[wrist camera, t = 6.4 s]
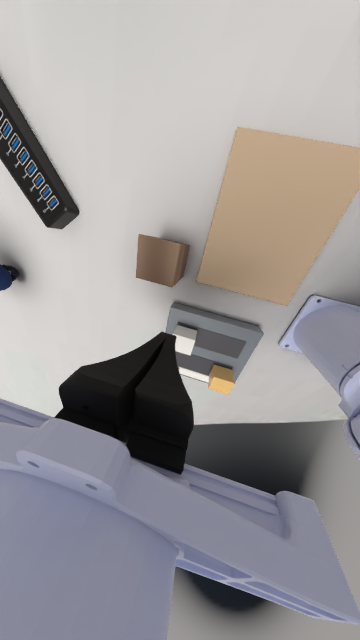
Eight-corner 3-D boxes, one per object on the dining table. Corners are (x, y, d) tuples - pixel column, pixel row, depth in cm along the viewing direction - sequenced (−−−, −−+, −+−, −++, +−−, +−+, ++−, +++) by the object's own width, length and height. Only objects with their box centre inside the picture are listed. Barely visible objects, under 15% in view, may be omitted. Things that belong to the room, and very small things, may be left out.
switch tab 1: (197, 330, 21) (195, 340, 18) (192, 344, 22) (190, 355, 20) (177, 324, 21) (172, 333, 19) (173, 339, 22) (169, 349, 20)
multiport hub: (63, 230, 21) (47, 228, 19) (-25, 96, 16) (-58, 75, 14) (82, 213, 20) (67, 209, 18) (-7, 60, 15) (-42, 30, 13)
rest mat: (374, 155, 12) (381, 151, 12) (285, 304, 19) (287, 305, 19) (236, 131, 13) (237, 126, 13) (196, 280, 20) (196, 281, 19)
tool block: (189, 245, 18) (180, 244, 13) (182, 277, 20) (172, 287, 15) (159, 238, 19) (138, 234, 13) (155, 269, 21) (135, 277, 15)
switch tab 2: (232, 370, 22) (234, 383, 20) (226, 381, 24) (228, 394, 21) (213, 364, 23) (213, 376, 20) (208, 375, 24) (208, 388, 22)
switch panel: (259, 326, 21) (264, 334, 19) (229, 381, 27) (230, 391, 25) (173, 302, 22) (170, 307, 20) (162, 359, 28) (158, 368, 26)
